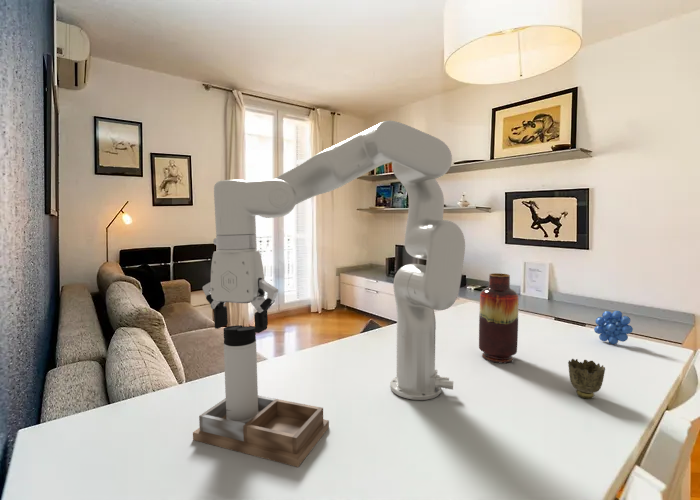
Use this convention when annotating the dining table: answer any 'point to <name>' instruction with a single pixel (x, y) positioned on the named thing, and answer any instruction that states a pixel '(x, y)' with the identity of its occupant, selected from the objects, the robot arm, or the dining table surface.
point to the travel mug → (240, 373)
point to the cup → (586, 377)
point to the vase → (498, 320)
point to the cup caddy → (266, 430)
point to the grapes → (613, 327)
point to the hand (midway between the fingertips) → (240, 328)
